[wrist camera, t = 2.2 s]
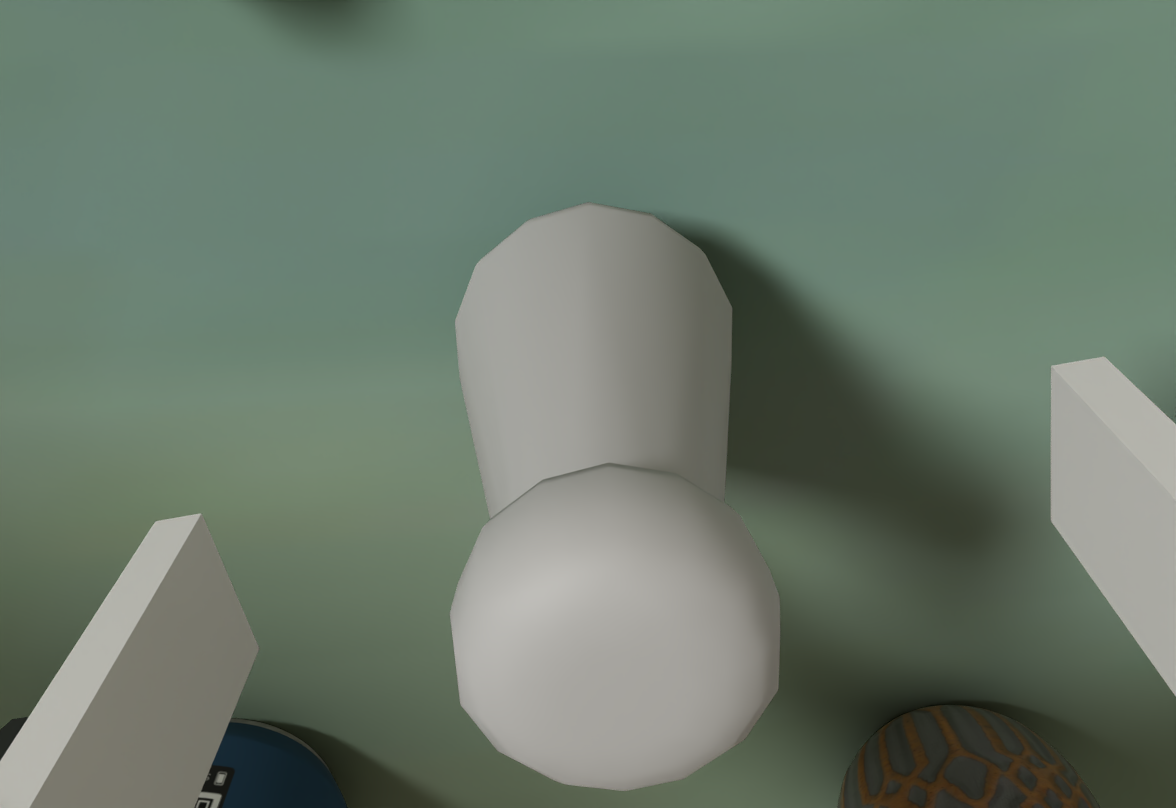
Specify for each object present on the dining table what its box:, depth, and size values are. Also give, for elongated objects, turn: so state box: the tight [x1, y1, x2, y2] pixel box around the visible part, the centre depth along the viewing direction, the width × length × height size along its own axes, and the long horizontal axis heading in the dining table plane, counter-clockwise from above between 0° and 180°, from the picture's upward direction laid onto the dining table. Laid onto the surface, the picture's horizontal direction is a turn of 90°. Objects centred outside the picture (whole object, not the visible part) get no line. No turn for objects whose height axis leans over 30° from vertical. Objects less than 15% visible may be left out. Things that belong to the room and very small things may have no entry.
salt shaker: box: [450, 202, 780, 791], centre depth 19 cm, size 6×6×13 cm
